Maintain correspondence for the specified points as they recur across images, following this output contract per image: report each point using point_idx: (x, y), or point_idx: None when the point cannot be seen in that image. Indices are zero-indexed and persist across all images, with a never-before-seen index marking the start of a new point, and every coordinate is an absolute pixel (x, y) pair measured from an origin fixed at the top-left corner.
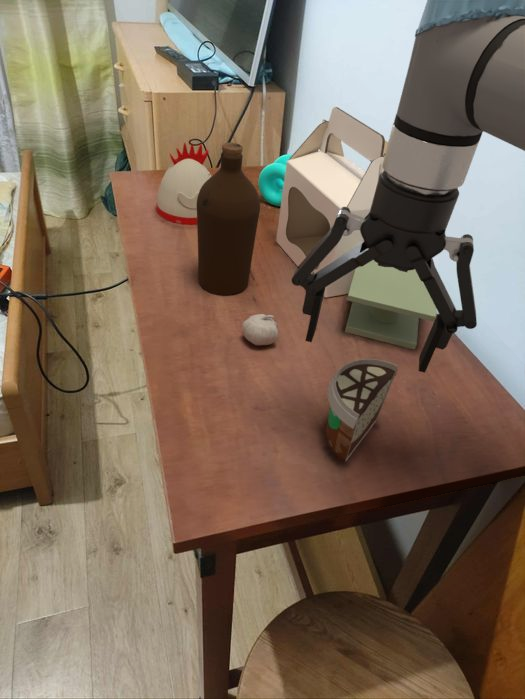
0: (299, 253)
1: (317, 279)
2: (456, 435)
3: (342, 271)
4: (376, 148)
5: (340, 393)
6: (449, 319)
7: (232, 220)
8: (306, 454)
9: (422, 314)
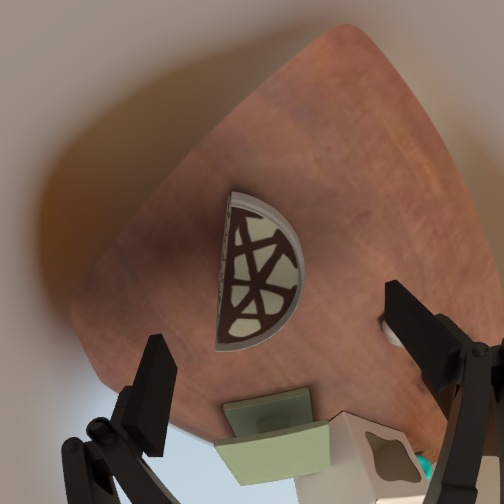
0: (384, 435)
1: (490, 376)
2: (128, 314)
3: (468, 436)
4: None
5: (281, 243)
6: (113, 450)
7: (489, 409)
8: (280, 177)
9: (229, 443)
